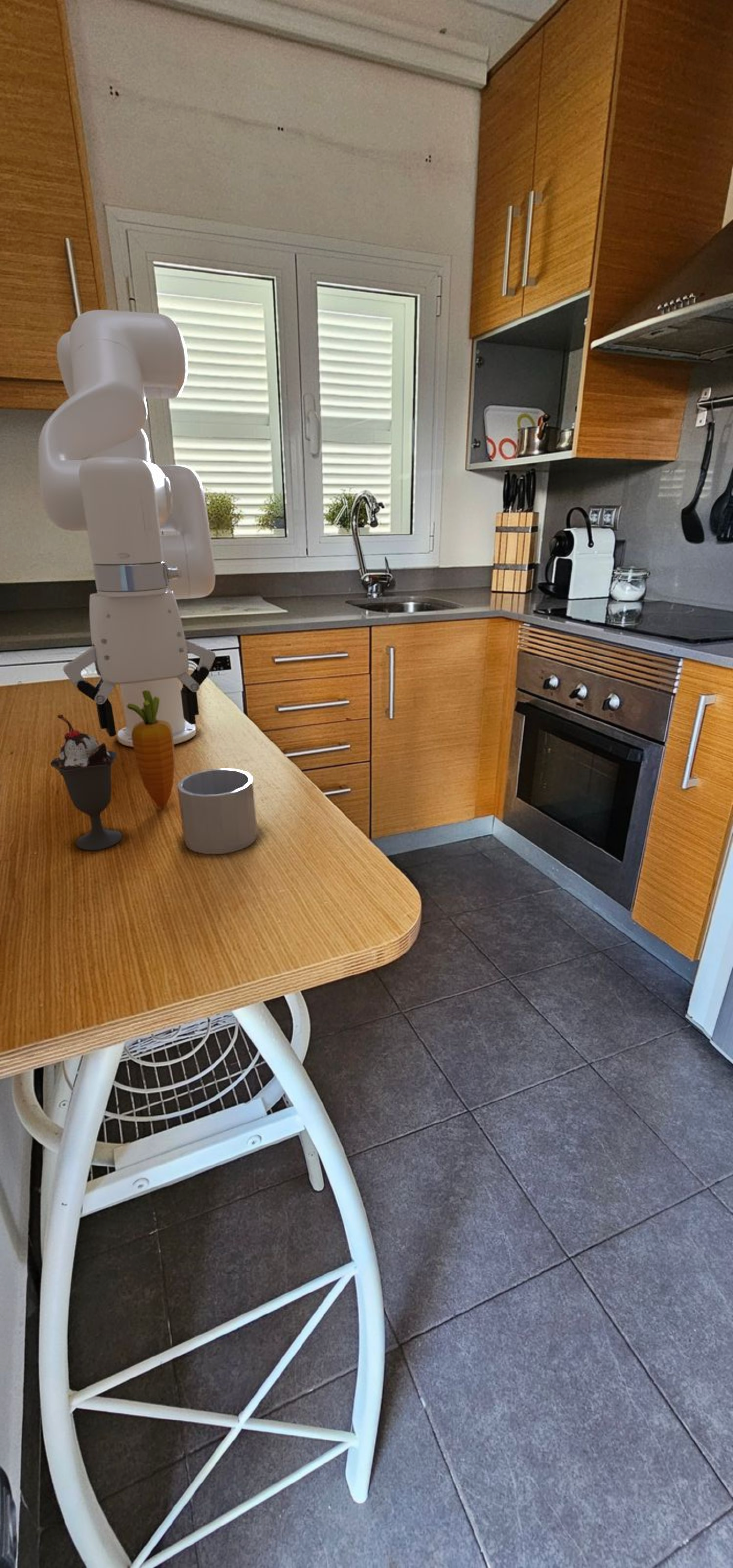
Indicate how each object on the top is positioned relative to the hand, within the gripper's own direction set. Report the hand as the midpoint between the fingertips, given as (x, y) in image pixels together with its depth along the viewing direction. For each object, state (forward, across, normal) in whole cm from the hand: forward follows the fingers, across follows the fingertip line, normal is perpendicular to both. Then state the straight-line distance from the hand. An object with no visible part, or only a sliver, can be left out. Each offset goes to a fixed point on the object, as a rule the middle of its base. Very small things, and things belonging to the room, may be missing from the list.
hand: (151, 727), depth 82 cm
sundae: (+11, +8, +6) cm, 15 cm away
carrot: (+11, 0, 0) cm, 11 cm away
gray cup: (+11, -4, +12) cm, 17 cm away
